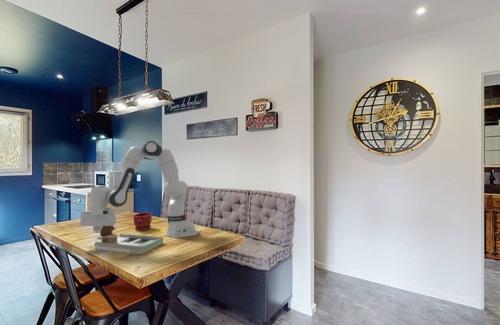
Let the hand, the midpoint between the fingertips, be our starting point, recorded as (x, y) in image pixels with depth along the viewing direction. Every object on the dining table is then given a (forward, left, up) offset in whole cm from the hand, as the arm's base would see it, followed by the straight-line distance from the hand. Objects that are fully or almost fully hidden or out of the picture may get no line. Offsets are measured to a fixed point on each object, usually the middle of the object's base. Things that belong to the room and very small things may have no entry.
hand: (98, 232), depth 157 cm
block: (-8, +5, -6) cm, 11 cm away
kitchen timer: (+11, -45, -8) cm, 47 cm away
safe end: (-31, +13, -8) cm, 35 cm away
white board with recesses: (-20, +7, -8) cm, 23 cm away
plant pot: (-20, -35, -8) cm, 41 cm away
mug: (+5, -25, -8) cm, 26 cm away
